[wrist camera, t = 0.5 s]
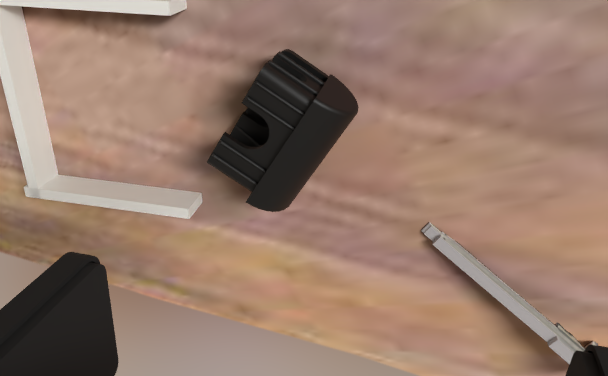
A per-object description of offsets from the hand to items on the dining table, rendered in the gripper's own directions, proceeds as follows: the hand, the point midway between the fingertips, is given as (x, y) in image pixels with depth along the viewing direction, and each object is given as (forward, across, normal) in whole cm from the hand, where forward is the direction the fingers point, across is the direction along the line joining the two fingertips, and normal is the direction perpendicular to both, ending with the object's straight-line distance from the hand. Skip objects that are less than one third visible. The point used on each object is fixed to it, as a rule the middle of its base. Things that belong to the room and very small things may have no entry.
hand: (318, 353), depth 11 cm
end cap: (+33, +8, +6) cm, 34 cm away
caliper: (+33, -12, +20) cm, 41 cm away
